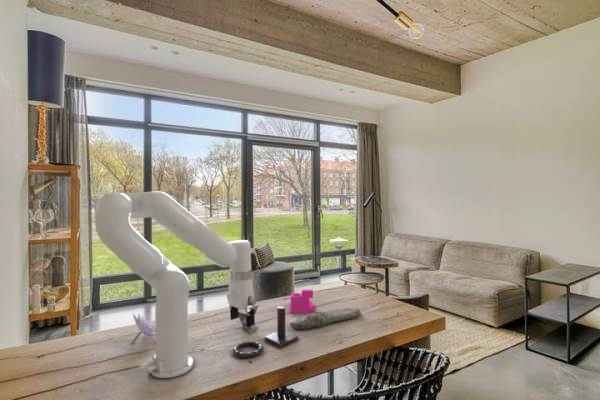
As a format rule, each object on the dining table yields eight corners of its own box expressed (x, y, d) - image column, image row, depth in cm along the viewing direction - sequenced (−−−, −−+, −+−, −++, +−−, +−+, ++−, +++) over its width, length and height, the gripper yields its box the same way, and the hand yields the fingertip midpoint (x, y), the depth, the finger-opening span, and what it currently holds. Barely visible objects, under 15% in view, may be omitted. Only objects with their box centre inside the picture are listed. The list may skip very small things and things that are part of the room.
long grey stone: (366, 320, 142) (352, 314, 151) (366, 308, 142) (352, 303, 151) (296, 332, 126) (285, 325, 134) (297, 319, 126) (286, 312, 135)
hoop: (244, 362, 105) (244, 357, 105) (227, 351, 112) (227, 347, 112) (268, 351, 112) (268, 346, 112) (251, 342, 119) (251, 338, 119)
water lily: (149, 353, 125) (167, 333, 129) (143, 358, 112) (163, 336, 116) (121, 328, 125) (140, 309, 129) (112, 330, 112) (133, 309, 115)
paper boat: (265, 326, 131) (250, 327, 124) (256, 338, 132) (241, 340, 124) (249, 305, 138) (234, 305, 131) (241, 316, 139) (226, 317, 131)
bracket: (313, 313, 149) (312, 291, 148) (290, 313, 149) (290, 291, 149) (312, 304, 161) (312, 283, 160) (291, 304, 161) (291, 283, 161)
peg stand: (280, 348, 114) (280, 313, 114) (264, 340, 121) (264, 307, 120) (298, 340, 121) (298, 307, 121) (282, 333, 127) (281, 301, 127)
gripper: (218, 273, 118) (220, 319, 119) (246, 281, 106) (248, 332, 106) (235, 269, 123) (237, 313, 124) (264, 276, 111) (265, 325, 112)
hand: (242, 322), depth 115 cm, fingers open, 9 cm apart
